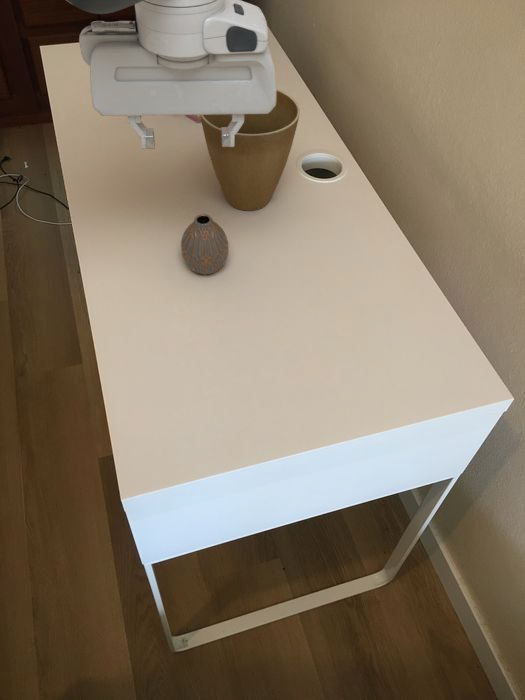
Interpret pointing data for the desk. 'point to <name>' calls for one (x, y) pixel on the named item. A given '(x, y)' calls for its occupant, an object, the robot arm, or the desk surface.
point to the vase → (204, 245)
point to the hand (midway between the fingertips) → (188, 145)
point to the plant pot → (252, 152)
